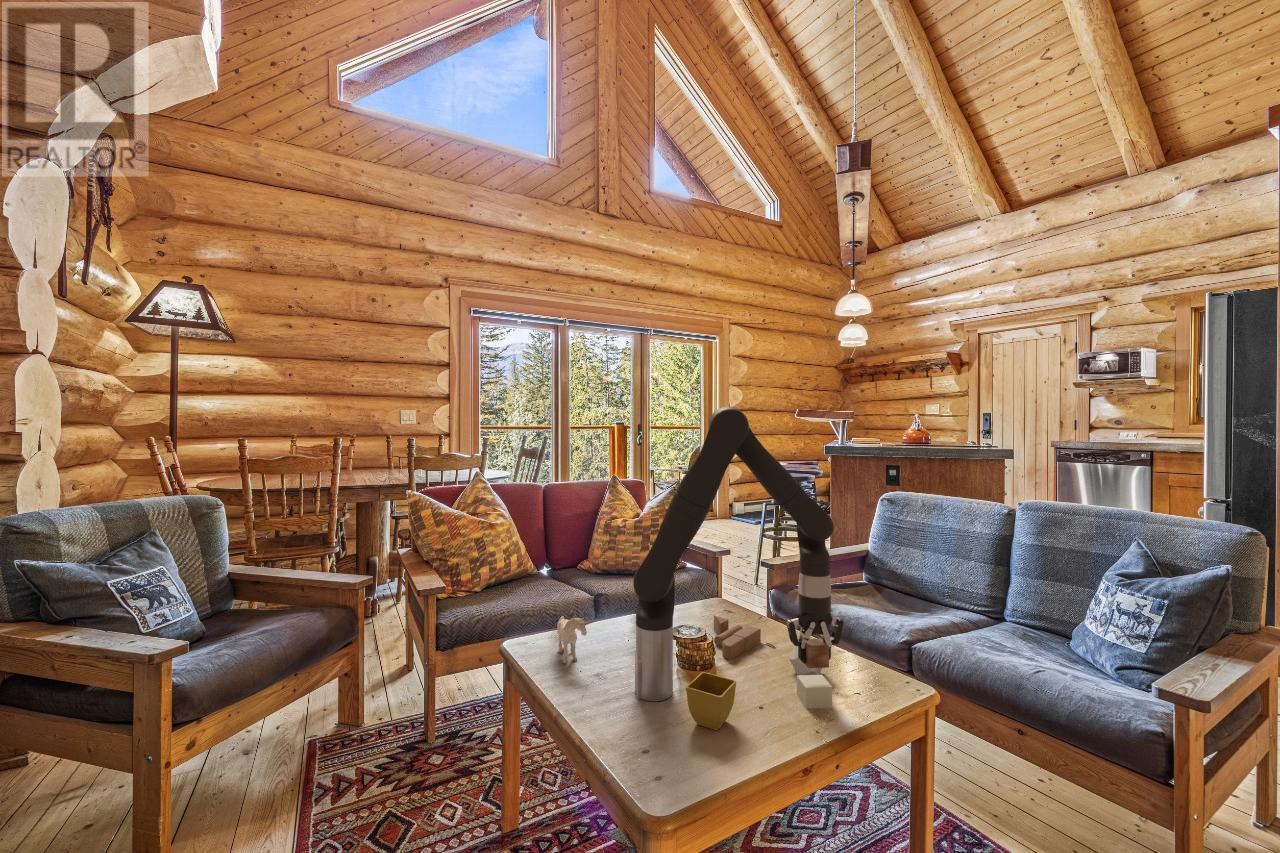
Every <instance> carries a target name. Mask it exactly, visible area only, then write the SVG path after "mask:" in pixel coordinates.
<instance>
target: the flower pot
mask: <svg viewBox="0 0 1280 853" xmlns="http://www.w3.org/2000/svg"><path fill="white" fill-rule="evenodd" d="M736 688H737V680H734V679H732V678H728V677H725V676H720V675H717V674H713V673H709V672H706V671H705V672H704V671H702V672H700V673H699V674H698V675H697V676H696V677H695V678H694V679H693V680H692V681H690V682H689V683H688V684H687V685H686V687H685V690H686V691H685V692H686V699H687V706H688V710H689V712H690V715H691V718H692V719H693V721H694V722H695V723H696V724H697V725H699V726H701V727H702V726H703V727H705V728H708V729H712V730H714V731H718V730H719V729H720V728H721V726H723V724H725V722H726V721H727V719H728V717H729V715H730V714H731V711H732V709H733V706H734V702H735V696H736Z"/></svg>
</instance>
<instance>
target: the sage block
mask: <svg viewBox="0 0 1280 853" xmlns="http://www.w3.org/2000/svg"><path fill="white" fill-rule="evenodd" d="M796 697H798V700H800V702H801V704H802V705H803V706H804V708H805V709H823V708H824V709H825V708H826V709H827V708H833V686H832V685H831V684H830V682H829V681H828V680H827V678H826V677H825V676H824V675H823V674H820V675H798V674H797V675H796Z"/></svg>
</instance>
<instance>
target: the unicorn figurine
mask: <svg viewBox="0 0 1280 853" xmlns="http://www.w3.org/2000/svg"><path fill="white" fill-rule="evenodd" d="M584 618H585V617H583V618H580V617H572V618H570V619H565V616H564V615H562V616H561V617H560V618H559V619H558V622H557V624H556V626H557V634H558V645H557V647H558V654H563V653H564V655H562V664H567V662H568V652H569V650H568V645H570V652H571V655H572V661H573V662H577V661H578V658H577V655H576V648H577V647H576V644H577V641H578V634H577V632H576V630H577V631H579V632H580V633H581V635H582V636H583V637H584V636H585V637H586V635H587V634H588V633H587V632H588V631H587V628H586V626H587V625H590V624H593V623H596V622H599V618H597V619H593V620H590V621H587V622H586V621H585V620H584Z"/></svg>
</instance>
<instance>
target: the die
mask: <svg viewBox="0 0 1280 853" xmlns="http://www.w3.org/2000/svg"><path fill="white" fill-rule="evenodd" d="M788 660H789V661H790V664H791V665H792V667H793V669H794V670H795V672H796V674H797V675H821V672H822V670H823V668H808V667H807V666H806V665H805V664H804V663H802V662H801V660H800V659H799V657H798V646H795V645H794V644H793V648H792V650H791V652H790V656H789V657H788Z"/></svg>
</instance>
